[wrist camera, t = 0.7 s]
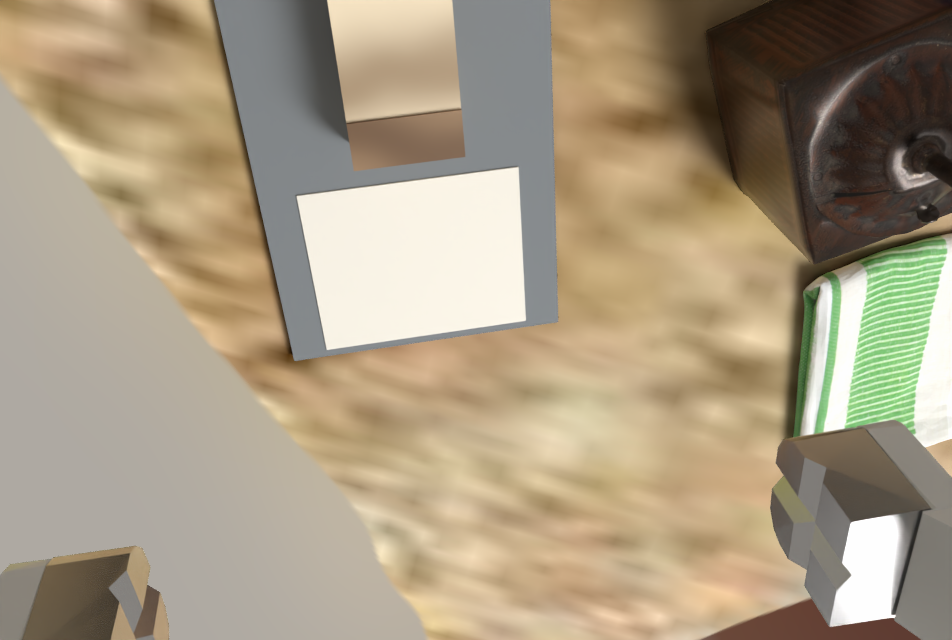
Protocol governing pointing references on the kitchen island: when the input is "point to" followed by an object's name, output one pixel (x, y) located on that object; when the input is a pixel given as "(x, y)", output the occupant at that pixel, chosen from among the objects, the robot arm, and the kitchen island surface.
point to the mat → (400, 184)
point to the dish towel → (880, 344)
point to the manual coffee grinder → (838, 116)
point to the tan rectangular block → (398, 80)
